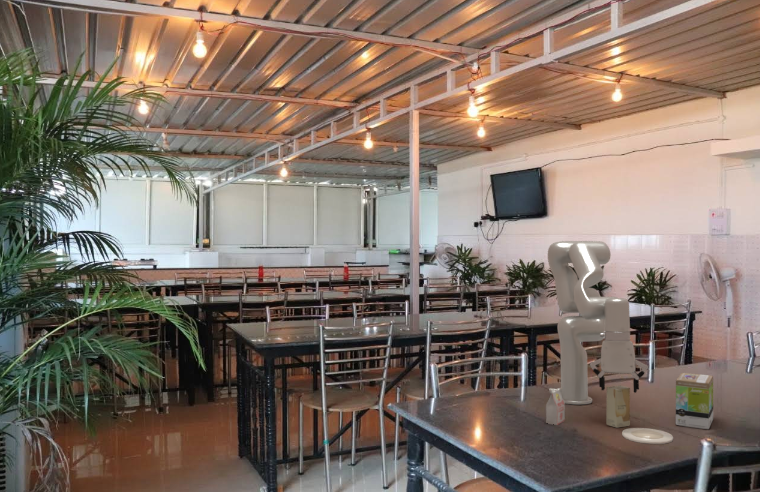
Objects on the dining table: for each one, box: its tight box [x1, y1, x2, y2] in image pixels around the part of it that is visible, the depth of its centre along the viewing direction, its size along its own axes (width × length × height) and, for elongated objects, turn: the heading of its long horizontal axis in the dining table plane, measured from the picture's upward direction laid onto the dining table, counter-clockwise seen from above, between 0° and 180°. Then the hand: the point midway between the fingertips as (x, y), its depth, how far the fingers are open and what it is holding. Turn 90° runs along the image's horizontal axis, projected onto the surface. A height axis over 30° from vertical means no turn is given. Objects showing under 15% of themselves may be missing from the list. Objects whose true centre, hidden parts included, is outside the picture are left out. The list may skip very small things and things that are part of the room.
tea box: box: [675, 372, 714, 430], centre depth 203 cm, size 15×10×15 cm, turn 148°
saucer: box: [621, 427, 674, 445], centre depth 187 cm, size 14×14×1 cm
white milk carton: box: [545, 390, 566, 426], centre depth 205 cm, size 4×7×10 cm, turn 143°
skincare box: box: [606, 385, 631, 429], centre depth 200 cm, size 6×4×12 cm
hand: (619, 390), depth 199 cm, fingers open, 9 cm apart
